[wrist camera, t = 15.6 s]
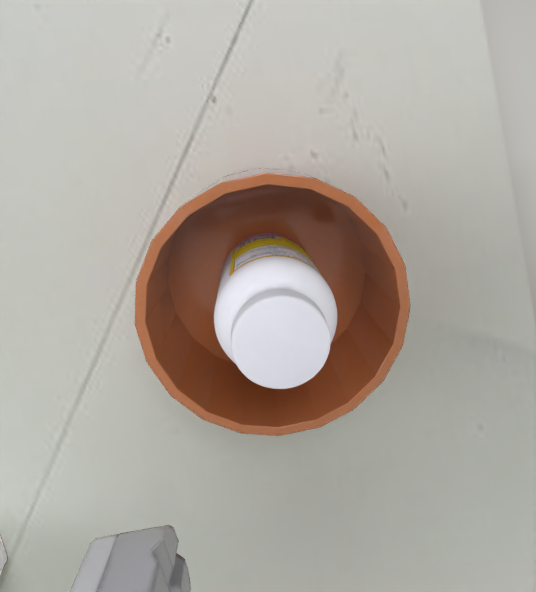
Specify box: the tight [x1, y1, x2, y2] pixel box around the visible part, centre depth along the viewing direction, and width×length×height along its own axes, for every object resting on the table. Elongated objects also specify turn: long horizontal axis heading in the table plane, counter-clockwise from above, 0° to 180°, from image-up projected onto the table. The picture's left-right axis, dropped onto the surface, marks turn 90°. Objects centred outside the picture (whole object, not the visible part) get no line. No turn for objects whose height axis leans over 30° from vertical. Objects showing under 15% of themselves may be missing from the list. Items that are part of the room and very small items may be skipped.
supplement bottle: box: [214, 233, 337, 389], centre depth 28 cm, size 7×7×13 cm
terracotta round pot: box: [135, 168, 410, 436], centre depth 31 cm, size 15×15×9 cm
